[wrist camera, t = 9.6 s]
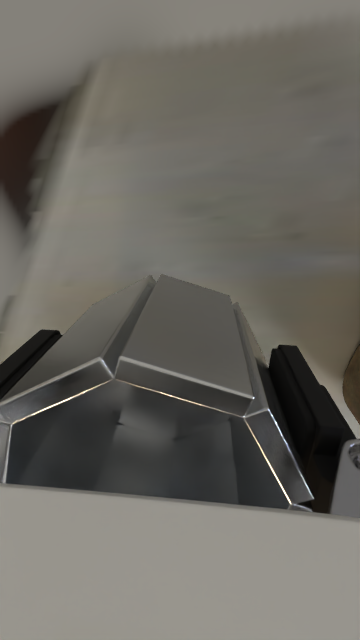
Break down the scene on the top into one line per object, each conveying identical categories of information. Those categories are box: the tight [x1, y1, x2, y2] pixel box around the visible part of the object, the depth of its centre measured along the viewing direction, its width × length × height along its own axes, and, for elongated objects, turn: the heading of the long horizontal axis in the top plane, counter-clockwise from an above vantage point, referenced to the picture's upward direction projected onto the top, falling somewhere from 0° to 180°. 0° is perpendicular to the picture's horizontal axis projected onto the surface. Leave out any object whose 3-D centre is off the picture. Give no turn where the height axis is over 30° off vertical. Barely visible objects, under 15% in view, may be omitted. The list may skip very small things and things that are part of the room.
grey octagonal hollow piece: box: [0, 274, 314, 512], centre depth 9 cm, size 7×7×6 cm
